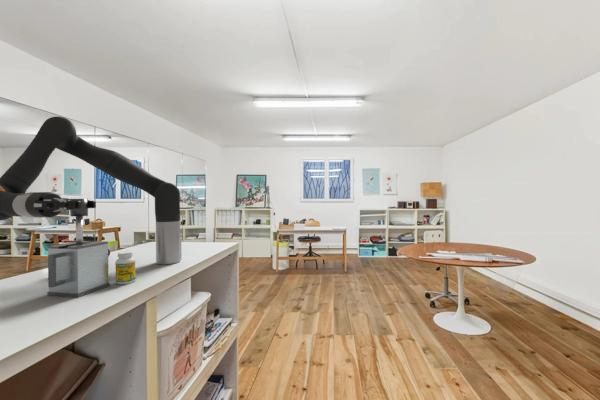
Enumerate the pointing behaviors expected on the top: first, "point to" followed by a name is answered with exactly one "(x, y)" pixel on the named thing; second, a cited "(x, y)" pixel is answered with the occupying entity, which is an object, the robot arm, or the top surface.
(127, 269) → the supplement bottle
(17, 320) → the top surface
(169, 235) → the robot arm
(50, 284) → the grey box
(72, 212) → the dark grey knob handle
